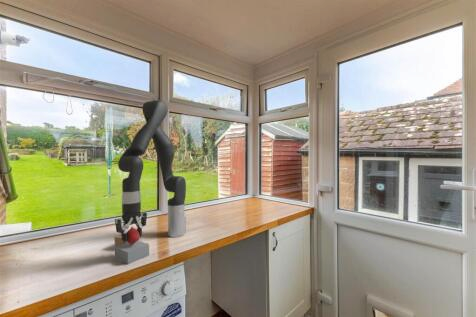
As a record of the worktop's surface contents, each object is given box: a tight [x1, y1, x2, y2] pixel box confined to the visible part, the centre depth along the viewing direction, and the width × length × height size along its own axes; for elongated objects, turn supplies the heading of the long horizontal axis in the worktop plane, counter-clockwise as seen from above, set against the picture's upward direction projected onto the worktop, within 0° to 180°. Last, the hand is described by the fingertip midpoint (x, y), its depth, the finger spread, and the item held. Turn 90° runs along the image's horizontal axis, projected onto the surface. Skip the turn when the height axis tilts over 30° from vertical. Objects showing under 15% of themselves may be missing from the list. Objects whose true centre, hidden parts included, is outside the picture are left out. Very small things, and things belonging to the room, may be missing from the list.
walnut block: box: [114, 232, 128, 248], centre depth 110 cm, size 7×7×6 cm
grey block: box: [114, 240, 150, 265], centre depth 99 cm, size 10×10×5 cm
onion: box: [127, 225, 140, 245], centre depth 99 cm, size 6×6×8 cm
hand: (132, 238), depth 99 cm, fingers open, 6 cm apart
